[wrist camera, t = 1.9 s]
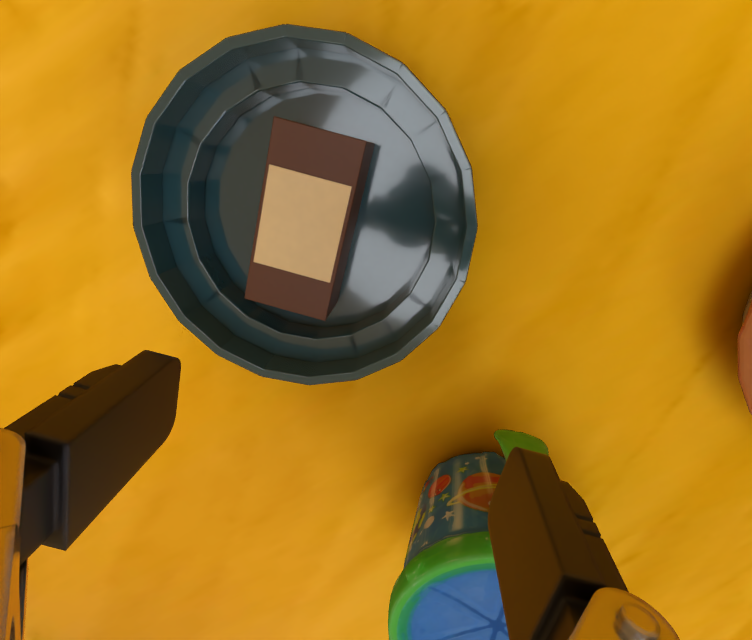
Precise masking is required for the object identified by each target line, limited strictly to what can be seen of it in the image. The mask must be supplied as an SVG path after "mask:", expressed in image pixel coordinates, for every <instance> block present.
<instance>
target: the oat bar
mask: <svg viewBox="0 0 752 640" xmlns="http://www.w3.org/2000/svg"><path fill="white" fill-rule="evenodd" d="M374 145H375V144H374V143H371V142H368V141H364V140H360V139H357V138H353V137H349V136H346V135H342V134H338V133H335V132H331V131H327V130H324V129H320V128H316V127H313V126H309V125H305V124H302V123H298V122H294V121H291V120H287V119H283V118H279V117H276V116H274V118H273V124H272V130H271V136H270V143H269V149H268V155H267V161H266V167H265V174H264V180H263V186H262V192H261V198H260V204H259V211H258V217H257V223H256V229H255V235H254V242H253V248H252V254H251V260H250V266H249V273H248V279H247V285H246V291H245V297H244V298H245V299H248V300H252V301H255V302H259V303H262V304H266V305H269V306H273V307H277V308H280V309H284V310H287V311H291V312H295V313H298V314H302V315H305V316H309V317H313V318H316V319H320V320H323V321H325V320H326V319H327V317H328V316H329V314H330V313H331V311H332V309H333V308H334V306H335V305H336V303H337V301H338V297H339V293H340V289H341V284H342V280H343V276H344V272H345V268H346V263H347V259H348V255H349V251H350V246H351V242H352V238H353V234H354V230H355V225H356V221H357V217H358V213H359V208H360V204H361V200H362V196H363V192H364V187H365V183H366V179H367V175H368V170H369V166H370V162H371V158H372V154H373V149H374Z"/></svg>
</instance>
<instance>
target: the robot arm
mask: <svg viewBox="0 0 752 640" xmlns="http://www.w3.org/2000/svg"><path fill="white" fill-rule="evenodd" d="M180 371H181V363H180V360H179V359H178V358H176V357H172V356H168V355H164V354H160V353H156V352H153V351H149V350H145V351H142V352H141V353H139V354H138V355H136V356H135V357H134V358H132V359H131V360H129V361H128V362H126V363H125V364H123V365H122V366H121V365H117V364H115V365H112V366H108V367H105V368H102V369H99V370H96V371H92V372H91V373H89V374H87V375H86V376H84V377H83V378H81V379H80V380H78V381H77V382H75V383H74V385H73V386H71V385H70V386H69V387H67V388H66V389H64V390H63V391H61V392H60V393H59V395H58V396H56V395H55V396H53V397H52V398H50V399H49V400H47V401H46V402H44V403H42V404H41V405H39V406H38V407H36V408H35V409H33V410H32V411H30V412H28V413H27V414H25V415H24V416H22V417H21V418H19V419H18V420H16V421H15V422H13V423H11V424H10V425H8V426H7V427H5V428H4V429H3V428H0V640H24V632H25V615H26V598H27V580H28V557H29V556H30V555H31V554H32V553H33V552H34V551H35V550H36V549H37V548H38V547H39V546H40V545H41V544H42V545H45V546H49V547H53V548H57V549H61V550H65V551H66V550H67V549H68V547H69V546H70V545H71V544H72V543H73V542H74V541H75V540H76V539H77V538H78V536H79V535H80V534H81V533H82V532H83V531H84V530H85V529H86V528H87V527H88V525H89V524H90V523H91V522H92V521H93V520H94V519H95V518H96V517H97V515H98V514H99V513H100V512H101V511H102V510H103V509H104V508H105V507H106V506H107V504H108V503H109V502H110V501H111V500H112V499H113V498H114V497H115V496H116V495H117V493H118V492H119V491H120V490H121V489H122V488H123V487H124V486H125V485H126V484H127V482H128V481H129V480H130V479H131V478H132V477H133V476H134V475H135V474H136V472H137V471H138V470H139V469H140V468H141V467H142V466H143V465H144V464H145V463H146V461H147V460H148V459H149V458H150V457H151V456H152V455H153V454H154V453H155V452H156V450H157V449H158V448H159V447H160V446H161V445H162V444H163V443H164V441H165V440H166V439H167V437H168V436H169V434H170V432H171V429H172V427H173V424H174V421H175V417H176V409H177V399H178V390H179V381H180ZM488 529H489V535H490V540H491V545H492V550H493V556H494V561H495V566H496V572H497V577H498V582H499V588H500V593H501V598H502V603H503V609H504V614H505V619H506V625H507V630H508V635H509V640H680V639H679V637H678V635H677V634H676V632H675V631H674V629H673V628H672V627H671V625H670V624H669V623H668V622H667V621H666V619H665V618H664V617H663V616H662V615H661V614H660V613H659V612H657V611H656V610H655V609H654V608H653V607H652V606H650V605H649V604H648V603H646V602H645V601H643V600H642V599H640V598H639V597H637V596H635V595H633V594H631V593H629V592H628V590H627V588H626V586H625V583H624V581H623V579H622V577H621V575H620V573H619V571H618V569H617V567H616V565H615V563H614V561H613V559H612V557H611V555H610V553H609V551H608V549H607V546H606V544H605V542H604V540H603V539H601V538H600V536H601V534H600V532H599V530H598V528H597V526H596V524H595V523H594V522H593V518H592V516H591V514H590V512H589V510H588V507H587V505H586V503H585V501H584V500H583V499H582V498H581V497H580V495H579V494H578V493H577V492H576V491H575V490H574V489H573V488H572V487H571V486H570V485H569V483H568V482H564V481H560V479H559V477H558V474H557V472H556V470H555V468H554V465H553V463H552V461H551V459H550V457H549V456H548V455H546V454H542V453H539V452H535V451H531V450H527V449H523V448H519V447H514V448H513V449H512V450H511V452H510V454H509V456H508V458H507V461H506V463H505V466H504V468H503V471H502V473H501V476H500V478H499V481H498V483H497V486H496V488H495V491H494V493H493V496H492V498H491V501H490V505H489V510H488Z"/></svg>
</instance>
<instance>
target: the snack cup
mask: <svg viewBox="0 0 752 640" xmlns="http://www.w3.org/2000/svg"><path fill="white" fill-rule="evenodd" d="M494 437H495V439H496V440H497V441H498V442H499V444H500V446H501V449H502V452H503V454H504V457H505V458H504V457H501V456H500V455H498V454H497V453H495V452H483V453H473V454H463V455H459V456H456V457H452V458H451V459H449V460H448V461H446V462H444V463H439V464H438V465H437V466H436V467H435V468H434V469H433V470H432V472H431V475H430V476H429V478H428V480H427V481H426V482H425V484H424V487H423V489H422V493H421V495H420V499H419V503H418V508H417V512H416V516H415V520H414V524H413V528H412V533H411V537H410V541H409V546H408V550H407V554H406V558H405V563H404V569H403V571H402V573H401V575H400V576H399V577H398V579H397V581H396V582H395V585H394V587H393V591H392V593H391V598H390V604H389V614H388V631H389V640H509V635H508V630H507V625H506V619H505V614H504V609H503V603H502V598H501V593H500V588H499V582H498V577H497V572H496V566H495V561H494V556H493V550H492V545H491V540H490V535H489V529H488V510H489V505H490V501H491V498H492V496H493V493H494V491H495V488H496V486H497V483H498V481H499V478H500V476H501V473H502V471H503V468H504V466H505V463H506V461H507V458H508V456H509V454H510V452H511V450H512V449H513V448H514V447H519V448H523V449H527V450H531V451H535V452H539V453H542V454H546V455H548V448H547V446H546V444H545V443H544V442H543V441H542V440H540V439H538V438H536V437H534V436H531V435H529V434H526V433H523V432H515V431H512V430H497V431H495V433H494ZM548 456H549V455H548Z"/></svg>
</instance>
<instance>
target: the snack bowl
mask: <svg viewBox="0 0 752 640" xmlns="http://www.w3.org/2000/svg"><path fill="white" fill-rule="evenodd" d="M274 116H276V117H279V118H283V119H287V120H291V121H294V122H298V123H302V124H305V125H309V126H313V127H316V128H320V129H324V130H327V131H331V132H335V133H338V134H342V135H346V136H349V137H353V138H357V139H360V140H364V141H368V142H371V143H374V144H375V145H374V149H373V154H372V158H371V162H370V166H369V170H368V175H367V179H366V183H365V187H364V192H363V196H362V200H361V204H360V208H359V213H358V217H357V221H356V225H355V230H354V234H353V238H352V242H351V246H350V251H349V255H348V259H347V263H346V268H345V272H344V276H343V280H342V284H341V289H340V293H339V297H338V301H337V303H336V305H335V306H334V308H333V309H332V311H331V313H330V314H329V316H328V317H327V319H326V320H325V321H323V320H320V319H316V318H313V317H309V316H305V315H302V314H298V313H295V312H291V311H287V310H284V309H280V308H277V307H273V306H269V305H266V304H262V303H259V302H255V301H252V300H248V299H245V298H244V297H245V291H246V285H247V279H248V273H249V266H250V260H251V254H252V248H253V242H254V235H255V229H256V223H257V217H258V211H259V204H260V198H261V192H262V186H263V180H264V174H265V167H266V161H267V155H268V149H269V143H270V136H271V130H272V124H273V118H274ZM131 179H132V209H133V226H134V227H133V228H134V231H135V234H136V237H137V240H138V243H139V246H140V249H141V252H142V255H143V258H144V261H145V264H146V267H147V270H148V273H149V276H150V279H151V280H152V282H153V283H154V285H155V286H156V288H157V289H158V291H159V292H160V294H161V295H162V297H163V298H164V300H165V301H166V303H167V304H168V306H169V307H170V309H171V310H172V312H173V313H174V315H175V316H176V318H177V319H178V321H179V322H180V323H181V324H183V325H184V326H185V327H186V328H187V329H188V330H189V331H191V332H192V333H193V334H194V335H195V336H196V337H197V338H198V339H200V340H201V341H202V342H203V343H204V344H205V345H206V346H208V347H209V348H210V349H211V350H212V351H213V352H214V353H216V354H217V355H219V356H221V357H223V358H225V359H227V360H229V361H231V362H233V363H235V364H237V365H239V366H241V367H243V368H245V369H247V370H249V371H251V372H253V373H255V374H257V375H259V376H262V377H267V378H272V379H278V380H283V381H289V382H294V383H300V384H305V385H316V384H325V383H334V382H344V381H353V380H358V379H360V378H363V377H365V376H367V375H370V374H372V373H374V372H376V371H379V370H381V369H383V368H386V367H388V366H390V365H393V364H395V363H397V362H400V361H401V360H403V359H404V358H405V357H406V356H407V355H408V354H410V353H411V352H412V351H413V350H414V349H415V348H416V347H417V346H419V345H420V344H421V343H422V342H423V341H424V340H425V339H427V338H428V337H429V336H430V335H431V334H432V333H433V332H435V331H436V330H437V329H438V327H440V325H441V323H442V322H443V320H444V318H445V317H446V315H447V313H448V311H449V310H450V308H451V306H452V305H453V303H454V301H455V300H456V298H457V296H458V295H459V293H460V291H461V289H462V288H463V286H464V284H465V282H466V279H467V274H468V270H469V265H470V261H471V256H472V251H473V247H474V242H475V238H476V233H477V226H478V224H477V214H476V204H475V194H474V184H473V174H472V168H471V165H470V162H469V160H468V158H467V156H466V153H465V151H464V149H463V147H462V144H461V142H460V140H459V138H458V135H457V133H456V131H455V128H454V126H453V124H452V122H451V119H450V117H449V115H448V113H447V111H446V109H445V108H444V107H443V106H442V105H441V104H440V103H439V102H438V100H437V99H436V98H435V97H434V96H433V95H432V94H431V93H430V92H429V91H428V89H427V88H426V87H425V86H424V85H423V84H422V83H421V82H420V81H419V80H418V78H417V77H416V76H415V75H414V74H413V73H412V72H411V71H410V70H409V69H408V67H407V66H406V65H405V64H403V63H402V62H401V61H399V60H397V59H395V58H393V57H392V56H390V55H388V54H386V53H384V52H382V51H380V50H379V49H377V48H375V47H373V46H371V45H369V44H368V43H366V42H364V41H362V40H360V39H358V38H357V37H355V36H353V35H351V34H349V33H346V32H341V31H334V30H327V29H320V28H313V27H306V26H299V25H292V24H286V25H285V24H282V25H277V26H273V27H269V28H265V29H260V30H256V31H252V32H248V33H243V34H239V35H235V36H231V37H228V38H225V39H224V40H222V41H221V42H219V43H218V44H216V45H215V46H214V47H212V48H211V49H209V50H208V51H206V52H205V53H203V54H202V55H200V56H199V57H198V58H196V59H195V60H193V61H192V62H190V63H189V64H187V65H186V66H185V67H183V68H182V69H180V70H179V71H178V73H177V74H176V75H175V77H174V78H173V80H172V81H171V83H170V84H169V85H168V87H167V88H166V90H165V91H164V93H163V94H162V96H161V97H160V98H159V100H158V101H157V103H156V104H155V106H154V107H153V109H152V110H151V111H150V113H149V114H148V116H147V118H146V120H145V124H144V127H143V131H142V135H141V138H140V142H139V145H138V149H137V153H136V156H135V160H134V163H133V167H132V172H131Z"/></svg>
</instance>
